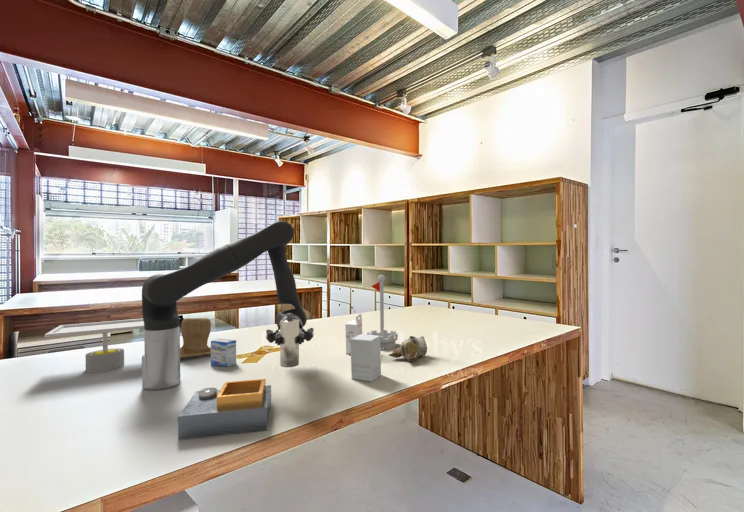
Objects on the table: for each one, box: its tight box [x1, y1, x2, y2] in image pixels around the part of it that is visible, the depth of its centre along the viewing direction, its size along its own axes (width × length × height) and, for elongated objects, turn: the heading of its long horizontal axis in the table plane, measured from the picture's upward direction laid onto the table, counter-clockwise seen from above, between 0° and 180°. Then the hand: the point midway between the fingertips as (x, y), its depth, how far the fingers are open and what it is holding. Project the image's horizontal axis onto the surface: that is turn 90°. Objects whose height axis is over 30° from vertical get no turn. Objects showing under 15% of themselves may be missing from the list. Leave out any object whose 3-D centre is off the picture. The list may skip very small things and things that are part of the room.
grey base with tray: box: [177, 378, 272, 441], centre depth 84 cm, size 18×14×8 cm
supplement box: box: [350, 333, 382, 382], centre depth 112 cm, size 7×7×13 cm
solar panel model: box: [44, 318, 144, 373], centre depth 125 cm, size 28×17×15 cm, turn 118°
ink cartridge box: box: [345, 313, 363, 355], centre depth 142 cm, size 9×5×15 cm, turn 168°
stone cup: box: [180, 317, 212, 360], centre depth 138 cm, size 15×12×15 cm
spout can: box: [279, 313, 300, 368], centre depth 98 cm, size 5×5×14 cm
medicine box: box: [210, 338, 237, 368], centre depth 127 cm, size 8×4×9 cm, turn 68°
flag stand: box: [366, 274, 399, 349], centre depth 151 cm, size 13×13×30 cm
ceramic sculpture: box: [388, 335, 428, 362], centre depth 131 cm, size 11×9×15 cm
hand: (289, 341), depth 95 cm, fingers closed on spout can, 5 cm apart
